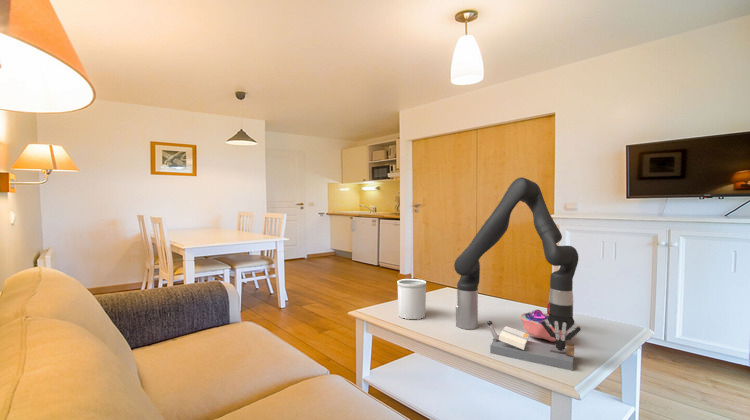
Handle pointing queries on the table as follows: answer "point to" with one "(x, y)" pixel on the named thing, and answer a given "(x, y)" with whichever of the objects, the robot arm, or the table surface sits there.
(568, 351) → the slider knob
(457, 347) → the table surface
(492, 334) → the toggle lever
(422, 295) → the utensil holder
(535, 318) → the cell model
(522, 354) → the panel
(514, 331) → the rocker white
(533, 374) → the table surface
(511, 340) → the block
